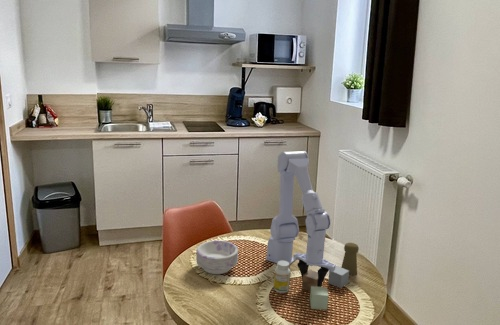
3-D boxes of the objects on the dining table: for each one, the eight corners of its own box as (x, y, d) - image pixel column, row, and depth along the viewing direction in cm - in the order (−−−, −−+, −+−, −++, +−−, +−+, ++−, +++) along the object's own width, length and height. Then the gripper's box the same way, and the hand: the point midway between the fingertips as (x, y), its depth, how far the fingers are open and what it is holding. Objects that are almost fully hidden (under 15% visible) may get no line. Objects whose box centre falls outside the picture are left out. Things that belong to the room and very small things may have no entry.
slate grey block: (328, 283, 145) (329, 270, 144) (335, 278, 149) (336, 265, 148) (340, 288, 142) (341, 275, 141) (347, 283, 146) (349, 270, 145)
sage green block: (311, 308, 129) (312, 294, 128) (309, 300, 134) (311, 286, 133) (327, 310, 129) (328, 295, 128) (325, 301, 134) (326, 287, 133)
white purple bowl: (189, 274, 146) (189, 253, 145) (205, 256, 161) (205, 237, 159) (230, 282, 143) (230, 261, 141) (242, 262, 157) (243, 243, 155)
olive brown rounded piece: (357, 276, 151) (360, 248, 149) (340, 273, 152) (343, 246, 150) (356, 268, 157) (359, 241, 154) (340, 266, 158) (343, 239, 155)
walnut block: (301, 288, 140) (303, 275, 139) (308, 282, 145) (309, 269, 143) (315, 293, 138) (316, 279, 137) (321, 287, 142) (322, 273, 141)
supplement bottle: (283, 295, 136) (285, 268, 134) (270, 289, 139) (271, 263, 137) (292, 289, 140) (294, 263, 138) (279, 283, 143) (281, 257, 141)
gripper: (290, 245, 138) (287, 281, 141) (331, 257, 131) (327, 296, 134) (300, 238, 144) (297, 274, 147) (339, 250, 136) (335, 287, 140)
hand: (311, 284), depth 141 cm, fingers closed on walnut block, 5 cm apart
